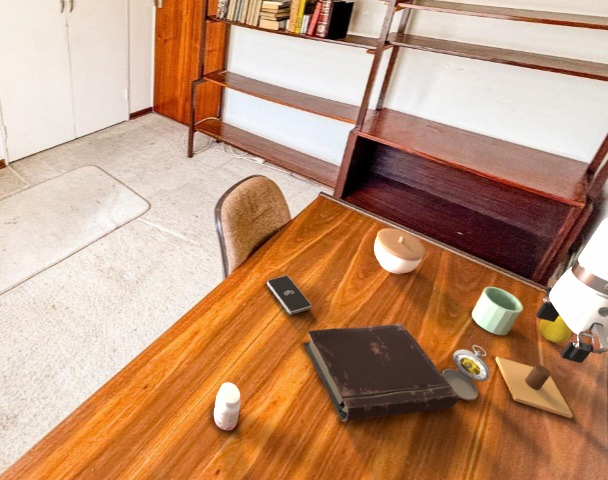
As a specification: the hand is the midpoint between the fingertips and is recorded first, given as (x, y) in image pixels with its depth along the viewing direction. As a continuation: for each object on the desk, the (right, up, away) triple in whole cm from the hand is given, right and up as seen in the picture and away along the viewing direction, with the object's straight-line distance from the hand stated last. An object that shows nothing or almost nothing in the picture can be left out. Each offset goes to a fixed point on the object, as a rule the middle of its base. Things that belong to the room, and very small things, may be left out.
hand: (556, 337), depth 82 cm
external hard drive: (-47, -4, +27) cm, 54 cm away
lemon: (+16, -11, +18) cm, 27 cm away
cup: (+5, -8, +22) cm, 24 cm away
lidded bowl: (-10, 0, +40) cm, 41 cm away
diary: (-34, -13, +8) cm, 37 cm away
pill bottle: (-69, -16, -1) cm, 71 cm away
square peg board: (+1, -15, +7) cm, 17 cm away
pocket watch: (-14, -15, +7) cm, 22 cm away
